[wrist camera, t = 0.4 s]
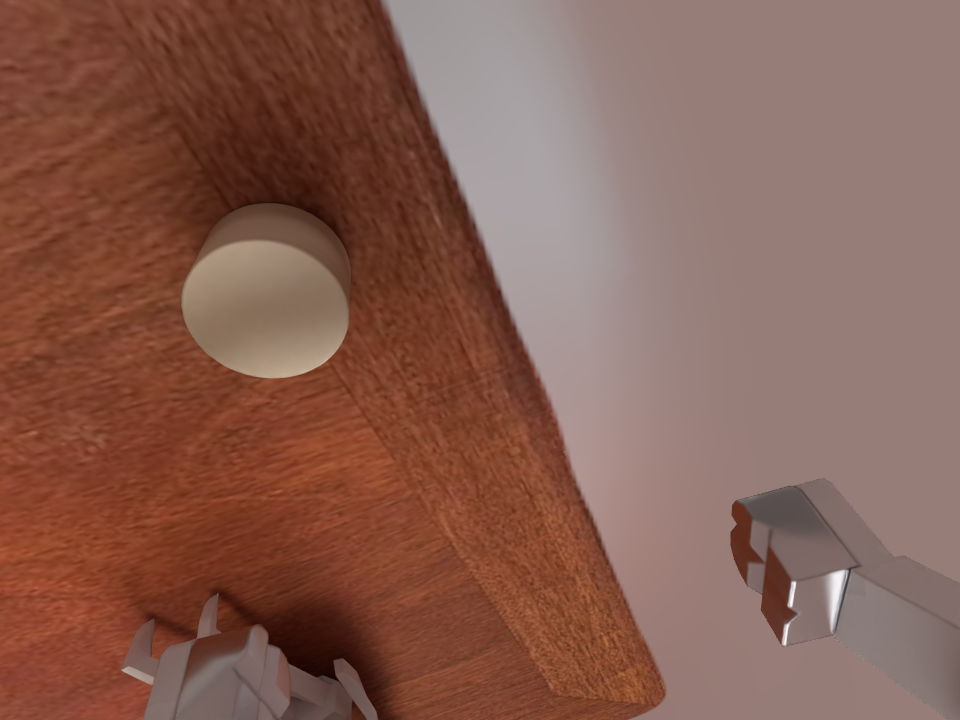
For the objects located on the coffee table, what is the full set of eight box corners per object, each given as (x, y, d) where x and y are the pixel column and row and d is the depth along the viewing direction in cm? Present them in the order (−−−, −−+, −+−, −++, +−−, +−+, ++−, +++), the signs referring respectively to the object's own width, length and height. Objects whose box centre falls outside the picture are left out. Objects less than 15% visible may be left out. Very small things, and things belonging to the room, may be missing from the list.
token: (175, 222, 20) (149, 262, 18) (324, 186, 21) (318, 222, 18) (238, 344, 23) (223, 394, 21) (368, 313, 23) (368, 358, 21)
